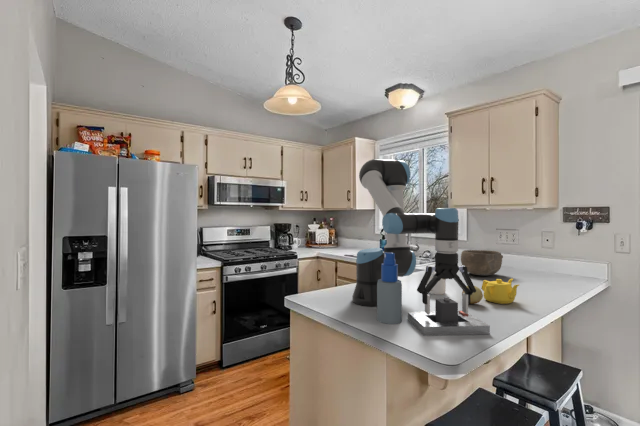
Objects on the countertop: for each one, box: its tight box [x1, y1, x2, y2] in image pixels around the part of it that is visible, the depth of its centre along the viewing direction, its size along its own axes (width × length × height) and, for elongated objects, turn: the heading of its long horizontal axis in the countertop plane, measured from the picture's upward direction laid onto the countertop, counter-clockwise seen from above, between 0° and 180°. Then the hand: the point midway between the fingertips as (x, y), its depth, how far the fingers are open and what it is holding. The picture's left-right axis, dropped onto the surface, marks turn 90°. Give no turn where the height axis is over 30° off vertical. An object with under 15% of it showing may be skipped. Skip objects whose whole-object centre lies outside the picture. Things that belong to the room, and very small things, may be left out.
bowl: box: [460, 249, 504, 276], centre depth 210 cm, size 24×24×15 cm
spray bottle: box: [376, 252, 403, 325], centre depth 123 cm, size 9×9×25 cm
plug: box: [434, 296, 459, 323], centre depth 116 cm, size 6×6×10 cm
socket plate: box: [407, 310, 491, 337], centre depth 116 cm, size 22×16×4 cm
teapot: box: [480, 278, 520, 305], centre depth 149 cm, size 14×13×10 cm
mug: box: [426, 270, 447, 296], centre depth 163 cm, size 12×8×10 cm
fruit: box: [461, 285, 484, 305], centre depth 145 cm, size 8×8×8 cm
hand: (446, 312), depth 116 cm, fingers open, 13 cm apart
